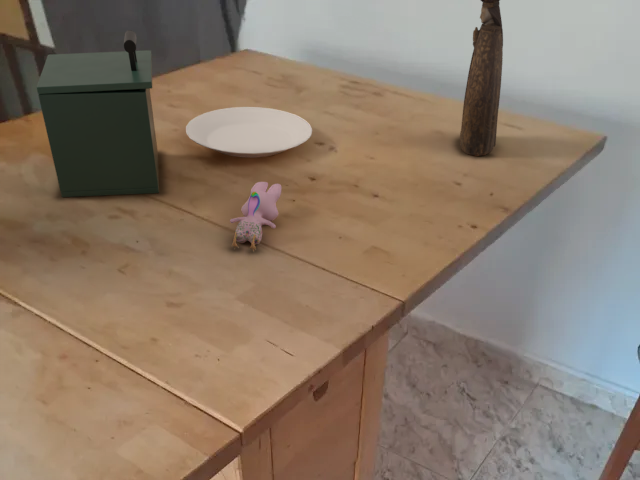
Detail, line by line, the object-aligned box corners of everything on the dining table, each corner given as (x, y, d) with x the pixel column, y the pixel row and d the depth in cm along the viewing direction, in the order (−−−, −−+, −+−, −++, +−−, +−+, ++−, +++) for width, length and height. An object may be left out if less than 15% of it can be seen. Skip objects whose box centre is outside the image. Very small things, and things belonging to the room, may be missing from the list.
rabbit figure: (267, 262, 89) (293, 196, 98) (265, 224, 84) (292, 158, 93) (221, 256, 90) (251, 191, 99) (216, 217, 85) (248, 153, 94)
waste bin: (157, 153, 110) (146, 59, 101) (159, 193, 100) (145, 92, 90) (70, 157, 108) (49, 61, 99) (61, 197, 98) (37, 94, 88)
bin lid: (152, 56, 101) (146, 20, 97) (152, 88, 90) (146, 49, 87) (49, 60, 99) (40, 24, 95) (38, 94, 88) (27, 54, 85)
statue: (443, 140, 119) (470, -31, 102) (479, 134, 121) (511, -33, 104) (472, 158, 113) (505, -19, 96) (509, 152, 116) (547, -22, 99)
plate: (228, 177, 104) (227, 163, 103) (165, 133, 117) (163, 120, 115) (336, 150, 114) (337, 136, 112) (267, 112, 126) (267, 99, 124)
